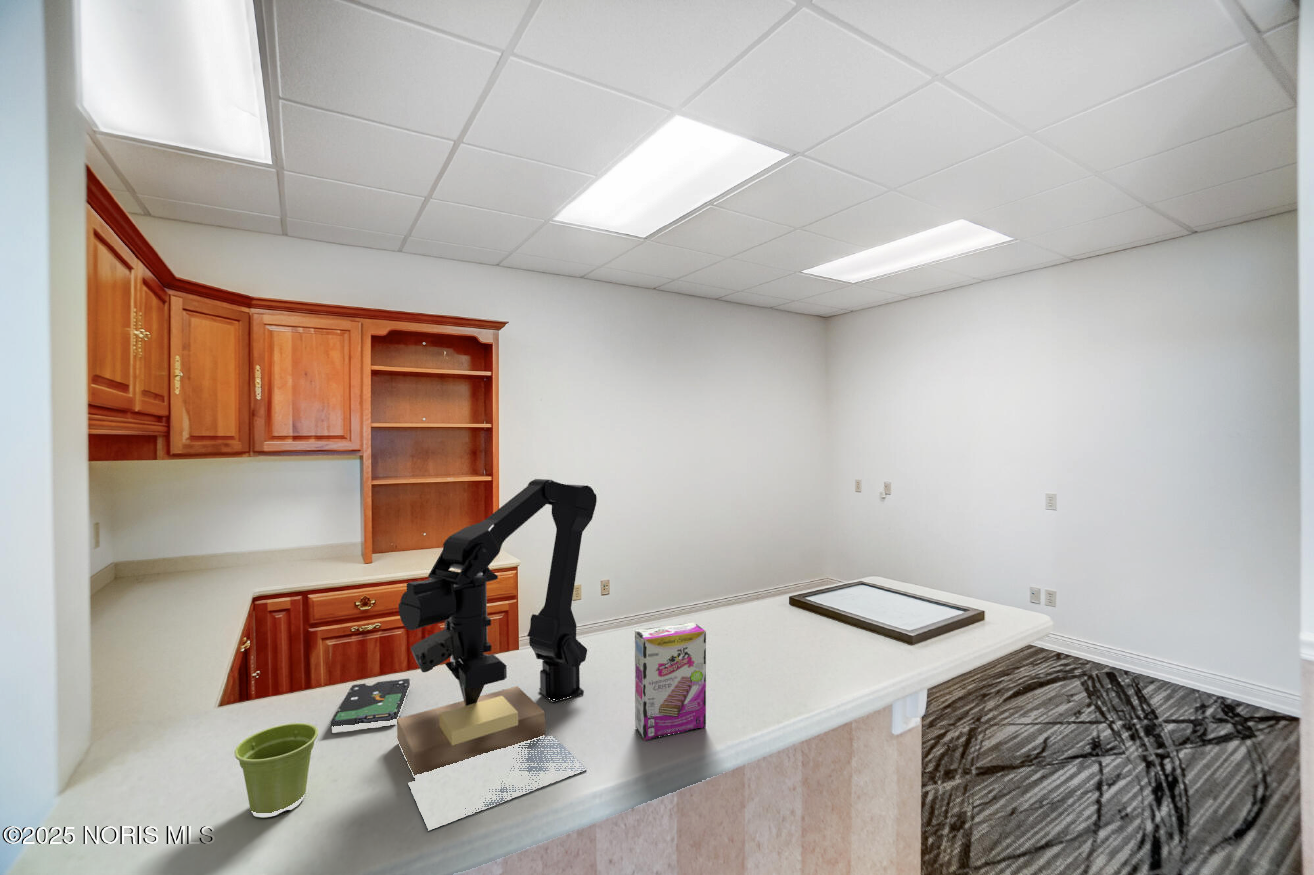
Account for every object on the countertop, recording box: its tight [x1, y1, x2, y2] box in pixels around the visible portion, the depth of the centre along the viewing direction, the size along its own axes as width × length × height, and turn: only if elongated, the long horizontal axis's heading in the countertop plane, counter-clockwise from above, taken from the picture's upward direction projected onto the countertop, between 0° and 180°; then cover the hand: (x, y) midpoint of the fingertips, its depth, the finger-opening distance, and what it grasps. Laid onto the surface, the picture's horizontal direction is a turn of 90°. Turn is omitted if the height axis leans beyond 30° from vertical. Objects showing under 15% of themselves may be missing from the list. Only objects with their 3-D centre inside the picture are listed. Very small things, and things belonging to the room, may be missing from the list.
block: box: [439, 696, 518, 745], centre depth 90 cm, size 10×7×2 cm
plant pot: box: [234, 722, 319, 813], centre depth 78 cm, size 9×9×9 cm
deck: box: [396, 685, 546, 776], centre depth 93 cm, size 20×12×4 cm, turn 125°
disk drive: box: [330, 678, 411, 728], centre depth 104 cm, size 10×3×15 cm
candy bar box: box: [634, 622, 707, 741], centre depth 96 cm, size 11×5×16 cm, turn 111°
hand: (470, 708), depth 94 cm, fingers closed
